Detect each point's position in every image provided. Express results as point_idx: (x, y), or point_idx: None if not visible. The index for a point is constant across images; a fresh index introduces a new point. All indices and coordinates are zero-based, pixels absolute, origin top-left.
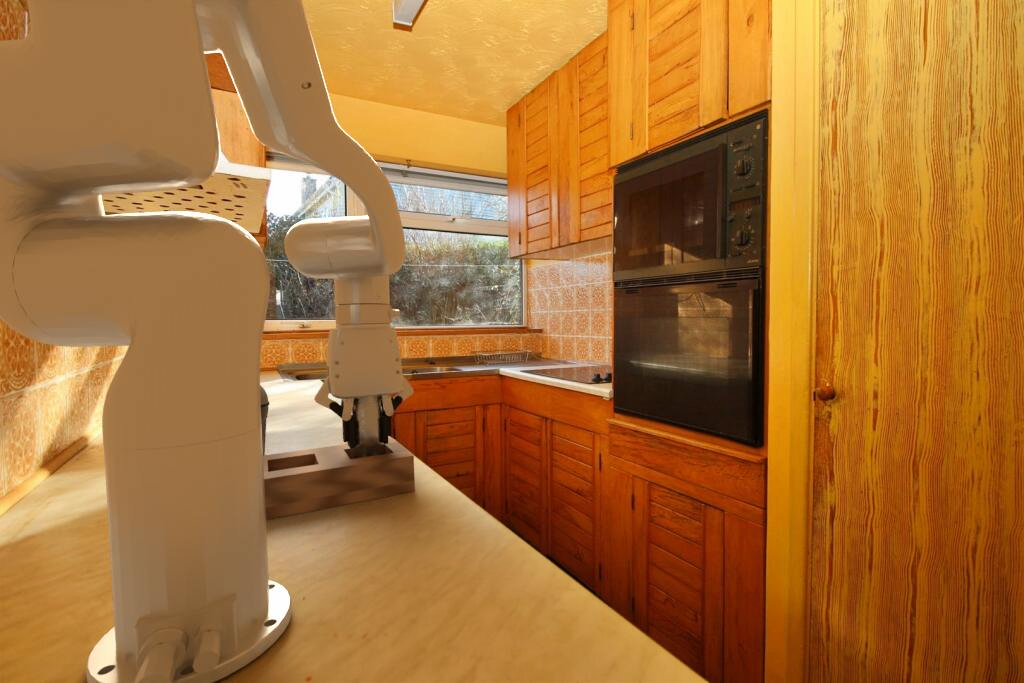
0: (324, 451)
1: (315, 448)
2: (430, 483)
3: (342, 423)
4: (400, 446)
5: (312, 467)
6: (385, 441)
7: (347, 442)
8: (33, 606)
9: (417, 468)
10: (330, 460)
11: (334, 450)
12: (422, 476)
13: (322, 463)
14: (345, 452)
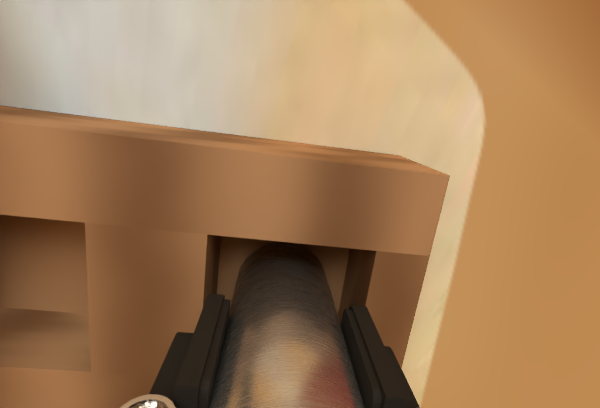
0: (128, 217)
1: (94, 136)
2: (411, 336)
3: (150, 392)
4: (403, 328)
5: (68, 393)
6: None
7: (208, 295)
8: None
9: (454, 202)
10: (133, 354)
11: (170, 225)
12: (425, 277)
13: (103, 371)
14: (203, 285)
